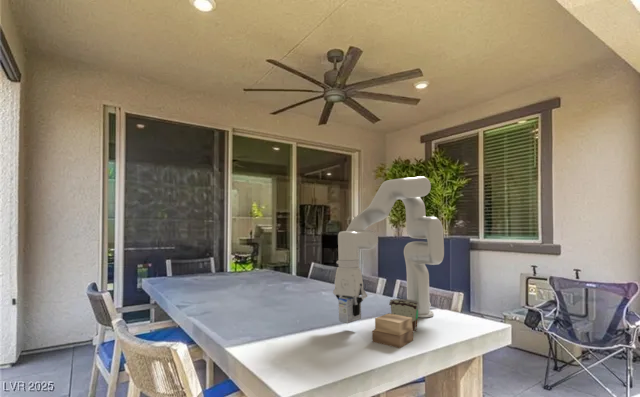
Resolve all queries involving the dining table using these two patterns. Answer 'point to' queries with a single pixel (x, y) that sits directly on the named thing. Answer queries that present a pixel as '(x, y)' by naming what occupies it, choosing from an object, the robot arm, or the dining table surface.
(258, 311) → the dining table surface
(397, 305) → the food container
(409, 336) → the tower base block
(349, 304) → the medicine box
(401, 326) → the tower top block
